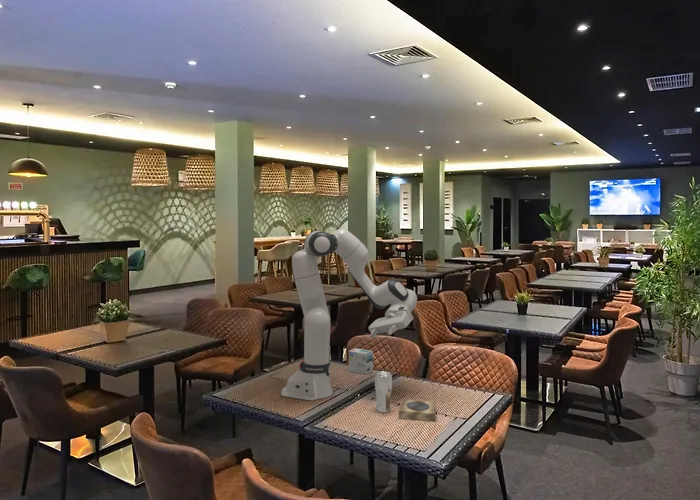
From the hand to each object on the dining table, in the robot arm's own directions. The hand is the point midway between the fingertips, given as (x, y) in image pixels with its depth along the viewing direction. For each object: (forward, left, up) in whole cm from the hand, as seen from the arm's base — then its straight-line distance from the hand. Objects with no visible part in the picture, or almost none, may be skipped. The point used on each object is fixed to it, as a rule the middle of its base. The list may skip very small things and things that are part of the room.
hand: (380, 335), depth 215 cm
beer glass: (+3, -9, -29) cm, 30 cm away
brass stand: (+17, -10, -28) cm, 35 cm away
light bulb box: (-14, +40, -29) cm, 51 cm away
